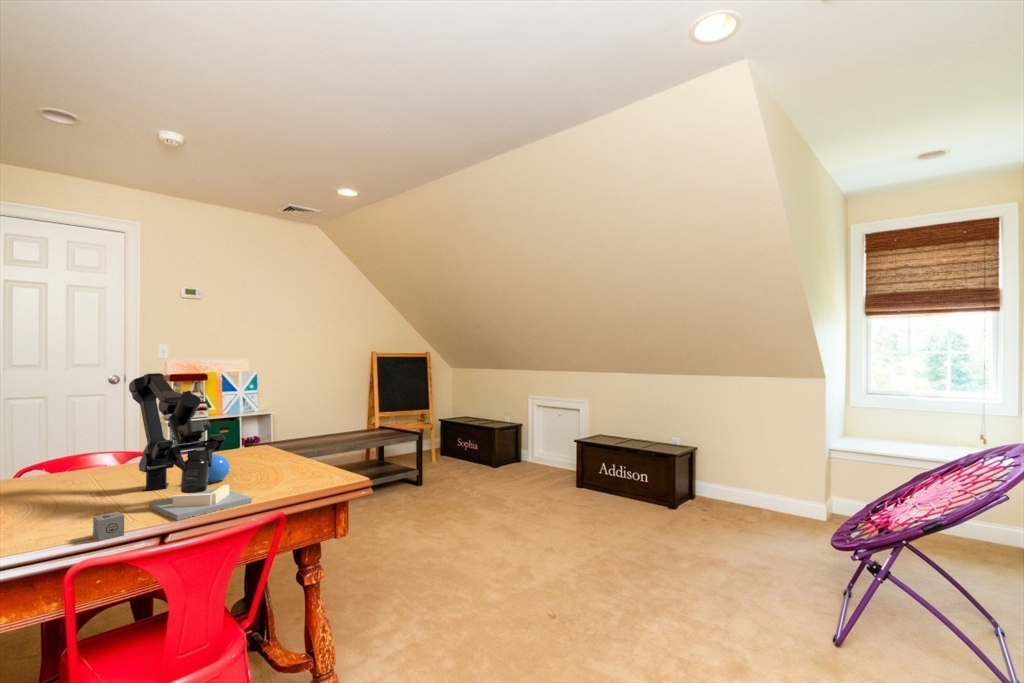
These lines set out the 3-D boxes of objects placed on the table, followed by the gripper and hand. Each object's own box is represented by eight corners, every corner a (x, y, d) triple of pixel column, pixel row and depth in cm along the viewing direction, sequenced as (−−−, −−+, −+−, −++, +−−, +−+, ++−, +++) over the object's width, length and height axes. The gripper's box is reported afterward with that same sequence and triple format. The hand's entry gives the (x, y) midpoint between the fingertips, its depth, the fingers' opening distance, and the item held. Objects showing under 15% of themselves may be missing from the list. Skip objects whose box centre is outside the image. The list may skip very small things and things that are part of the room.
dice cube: (93, 537, 125) (93, 516, 125) (117, 531, 129) (118, 511, 129) (98, 541, 122) (99, 520, 122) (124, 535, 126) (124, 515, 126)
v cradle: (148, 507, 148) (148, 492, 148) (220, 492, 164) (220, 478, 165) (177, 520, 137) (177, 503, 137) (251, 502, 153) (251, 487, 153)
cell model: (235, 476, 186) (235, 450, 186) (225, 484, 174) (225, 456, 175) (204, 478, 183) (204, 451, 184) (193, 486, 172) (193, 458, 172)
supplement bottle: (212, 490, 154) (215, 450, 155) (192, 494, 148) (195, 452, 149) (195, 488, 156) (198, 448, 157) (174, 492, 150) (178, 451, 151)
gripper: (155, 414, 148) (171, 457, 141) (223, 408, 163) (239, 446, 156) (145, 439, 152) (159, 481, 146) (211, 431, 167) (227, 469, 161)
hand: (198, 468), depth 152 cm, fingers closed on supplement bottle, 6 cm apart
